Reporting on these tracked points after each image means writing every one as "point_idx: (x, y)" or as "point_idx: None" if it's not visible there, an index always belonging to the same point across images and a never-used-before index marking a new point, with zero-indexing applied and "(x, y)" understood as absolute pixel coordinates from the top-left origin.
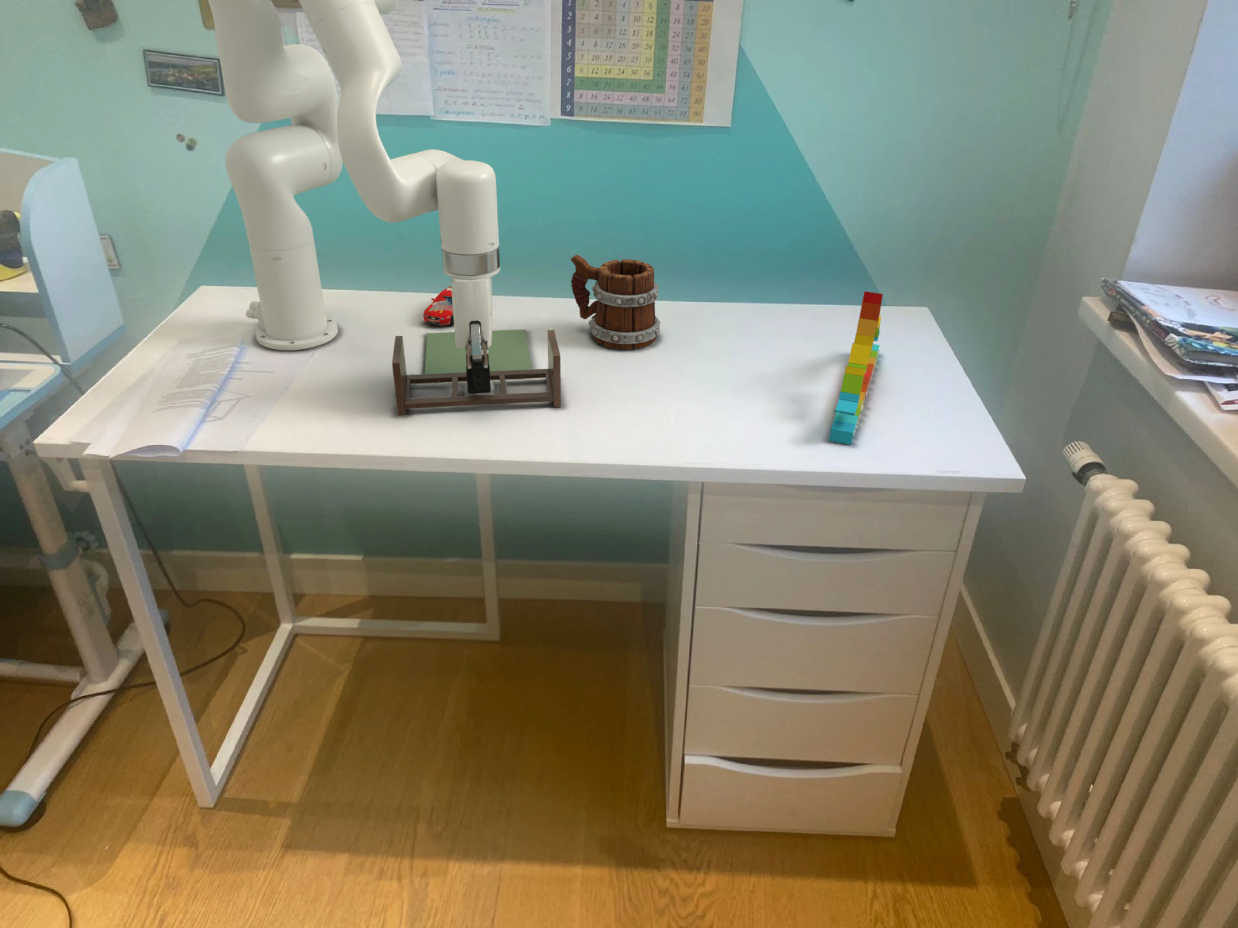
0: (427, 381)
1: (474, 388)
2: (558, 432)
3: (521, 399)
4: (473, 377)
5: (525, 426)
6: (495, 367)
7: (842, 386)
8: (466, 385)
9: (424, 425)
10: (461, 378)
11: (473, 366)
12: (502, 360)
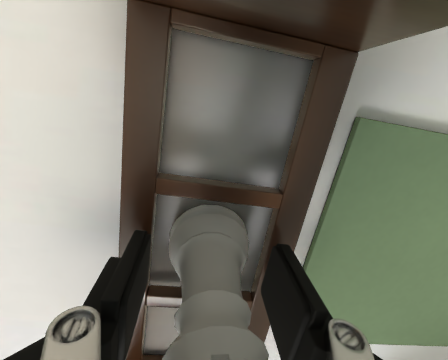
0: (300, 119)
1: (109, 259)
2: (12, 349)
3: None
4: (93, 291)
5: (42, 302)
6: (330, 284)
7: None
8: (209, 226)
9: (63, 67)
10: (274, 216)
11: (22, 356)
12: (356, 299)
